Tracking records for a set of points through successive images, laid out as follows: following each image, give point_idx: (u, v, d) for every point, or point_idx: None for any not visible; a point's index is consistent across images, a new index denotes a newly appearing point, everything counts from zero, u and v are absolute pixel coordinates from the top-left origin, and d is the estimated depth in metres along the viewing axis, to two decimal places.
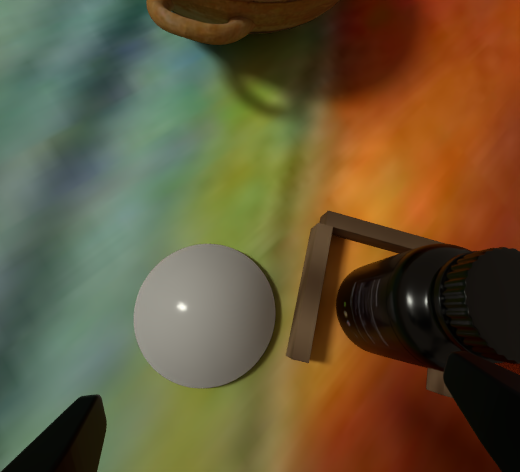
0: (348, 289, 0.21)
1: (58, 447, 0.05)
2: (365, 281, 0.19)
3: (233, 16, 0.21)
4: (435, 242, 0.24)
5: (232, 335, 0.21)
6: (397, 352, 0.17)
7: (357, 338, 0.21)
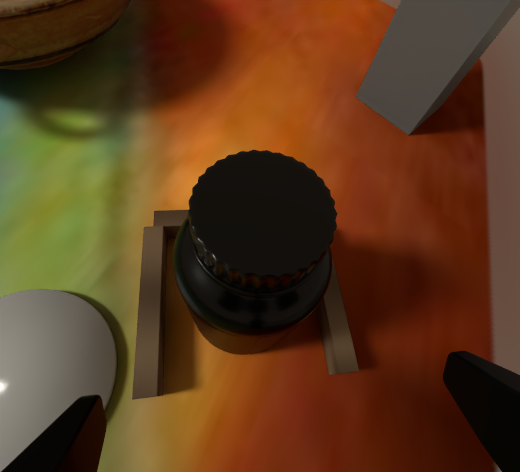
0: None
1: (58, 447, 0.05)
2: None
3: None
4: None
5: (56, 398, 0.16)
6: (220, 336, 0.13)
7: (212, 342, 0.16)
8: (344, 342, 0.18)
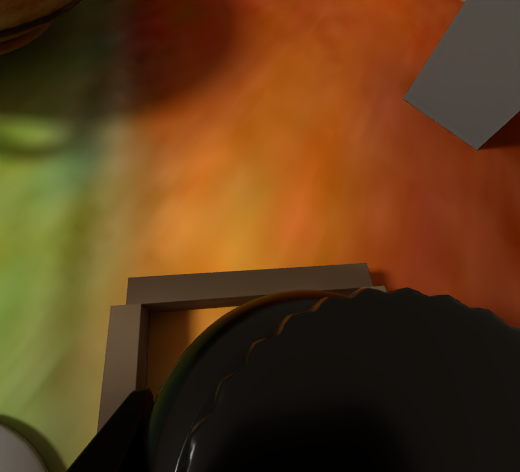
0: None
1: (124, 437, 0.05)
2: None
3: None
4: (327, 268, 0.14)
5: None
6: None
7: None
8: None
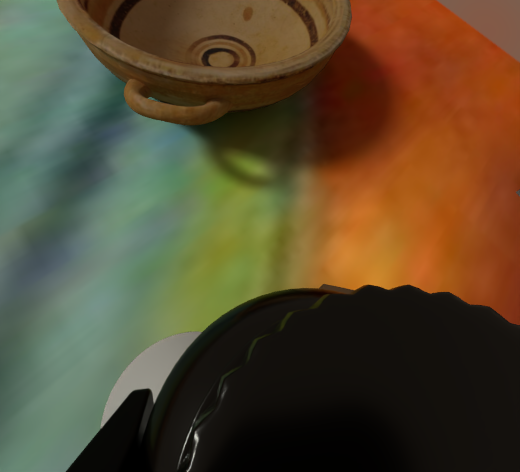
0: None
1: (124, 438, 0.05)
2: None
3: (210, 98, 0.22)
4: None
5: None
6: None
7: None
8: None
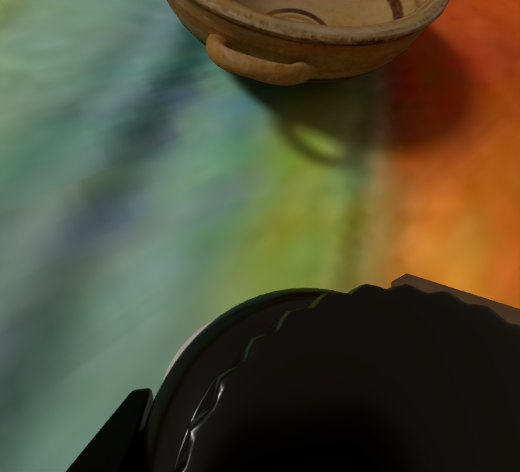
0: None
1: (124, 438, 0.05)
2: None
3: (296, 60, 0.20)
4: None
5: None
6: None
7: None
8: None
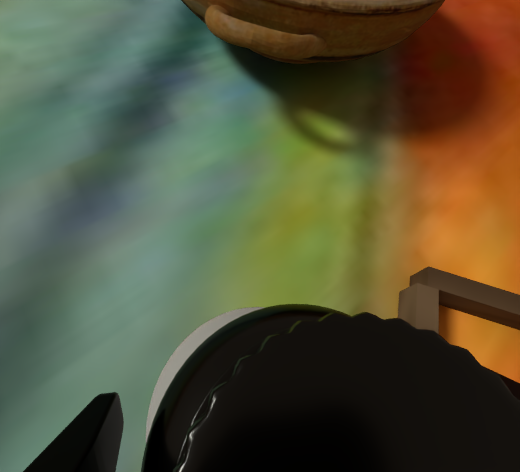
0: None
1: (81, 444, 0.05)
2: None
3: (304, 33, 0.18)
4: None
5: None
6: None
7: None
8: None
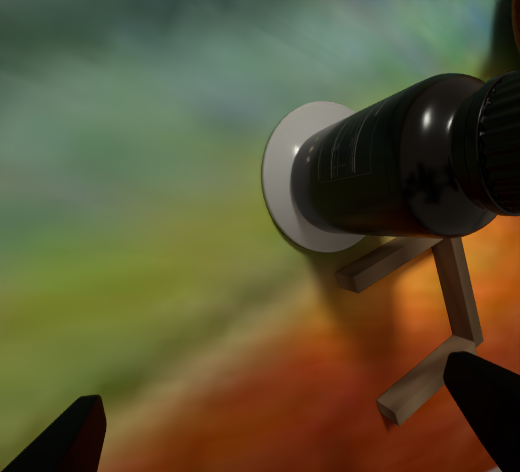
0: (331, 125, 0.17)
1: (58, 447, 0.05)
2: (366, 108, 0.15)
3: None
4: (478, 321, 0.26)
5: None
6: (361, 181, 0.13)
7: (307, 180, 0.17)
8: (412, 407, 0.23)
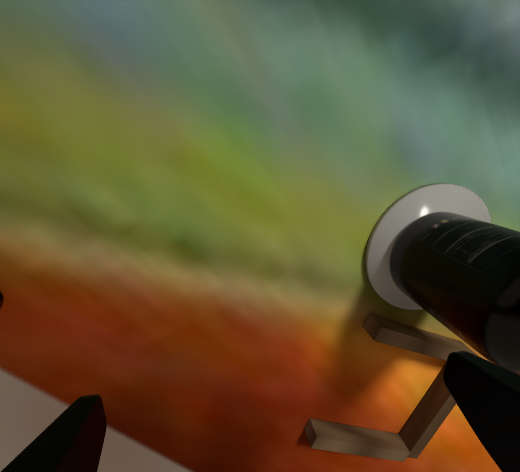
0: (473, 218, 0.19)
1: (58, 447, 0.05)
2: (514, 230, 0.17)
3: None
4: (427, 442, 0.27)
5: None
6: (469, 272, 0.15)
7: (421, 238, 0.19)
8: (329, 446, 0.25)
